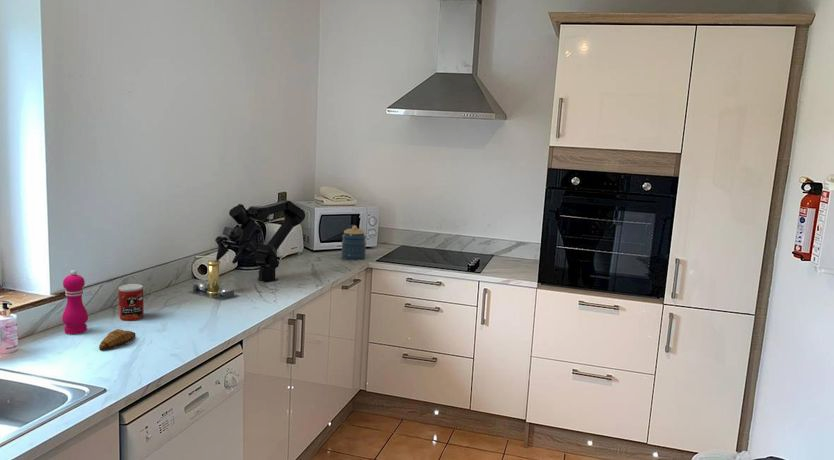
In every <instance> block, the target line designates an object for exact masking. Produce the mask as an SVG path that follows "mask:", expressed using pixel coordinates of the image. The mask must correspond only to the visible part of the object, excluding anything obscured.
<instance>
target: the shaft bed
mask: <svg viewBox="0 0 834 460" xmlns="http://www.w3.org/2000/svg"><path fill="white" fill-rule="evenodd" d="M207 290H208V283H204V282H199V281H198V282H196V283H195V284H192V290H189V291H187V292H188V293H191V294H195V295H199V296H202V297H206V298H210V299H215V300H218V301H224V300H228V299H232V298H235V297H238V296H240V294H236V293H235V290H234V289H229V288H225V287H219V289H218V294H217V295H209V294H207Z"/></svg>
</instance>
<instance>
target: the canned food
mask: <svg viewBox="0 0 834 460" xmlns="http://www.w3.org/2000/svg"><path fill="white" fill-rule="evenodd" d="M118 311H119V312H118V313H119V315H118V316H119V319H120V320H121V321H124V322H125V321H126V322H130V321H131V322H133V321H138V320H141V319H143V317H144V312H145V308H144V286H143V285H142V284H139V283H129V284H127V283H126V284H123V285H120V286H119V287H118Z"/></svg>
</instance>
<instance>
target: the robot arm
mask: <svg viewBox="0 0 834 460" xmlns="http://www.w3.org/2000/svg"><path fill="white" fill-rule="evenodd" d="M280 212H282V213H283V214H284V220H283V222H282V224H281V225H280V226H279V228H278V229H277V230H276V232H275V233H274V234H273V236H271V239H270V240H269V241H268V242H267V244H262V243H261V244H260V245H259V246H258V248H257V246H255V245H254V244H253V242H251V239H252V237H251V235H252V234H253V232H254V231H255V230H260V224H259V223H258V222H256V221H260V222H261V221H262V222H263V221H264V220H267V219H268V218H269V216H270V215H271V216H272V215H274V214H277V213H280ZM228 215H229V216H230V217H231V219H233V221H234V222H235V223H236V224H237V225H239V226H238V227H237V226H236V227H234V228H233V227H229V226H224V228H223V231H222V235H225V236H222V235H219V236H217V237H216V238H214V239H215V240H214V241H215V243H216V244H217V253H216V257H215V260H218V261H220V260H221V259H222V257H223V256H225V255H226V254H227V253H228V252H229V251H230V249H231V247H235V248H238V250H237V252H236V254H235V256H234V258H233V259H232V262H231V263H232V264H233V265H234V264H236V263H238V262H240V261H241V260H243V259H246V258H248V257H249V256H252V255H254V261H255V264H256V266H257V267H259V270H258V277H257V280H258V281H261V282H264V283H269V282H274V281H278V278H276V269H277V268H278V267H279V265H280V262H279V260H278V259H277V255H278V253H277V251H278V249H279V248H280V246H281V245H282V244H283V243H284V241H285V240H286V238H287V237H288V235H289V234H290V233H291V231H292V230H293V228H294V227H296V226H298V225H300V224H301V223H302V222H303V221H304V220H305V218H306V213H305V210H304V209H302V208H301V207H299V206H298V205H296V204H294V203H293V201H292V200H288V199H287V200H286V199H282V200H280V201H277V202H272V203H269V204H266V205H251V206H249V207H248V208H247V209H246V207H245V206H244V204H241V203H238V204H237V205H236V206H233V207H232V208H231V209H230V210H229V212H228ZM226 236H227V237H228V238H227V237H226Z"/></svg>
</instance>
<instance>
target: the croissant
mask: <svg viewBox="0 0 834 460" xmlns="http://www.w3.org/2000/svg"><path fill="white" fill-rule="evenodd" d="M136 336H137V335H136V332H134V331H131V330H123V329H121V328H120V329H118V328H117V329H115V330H113V331H110V332H109V333H107V335H106V336H105V337H104V338H103V339H102V340H101V342H100V343H99V346H98V349H99V350H100V351H105V350H106V351H107V350H111V349H114V348H118V347H121V346H125V345H126V344H128V343H129V342H132V341H133V340H134V339H135V338H136Z"/></svg>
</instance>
